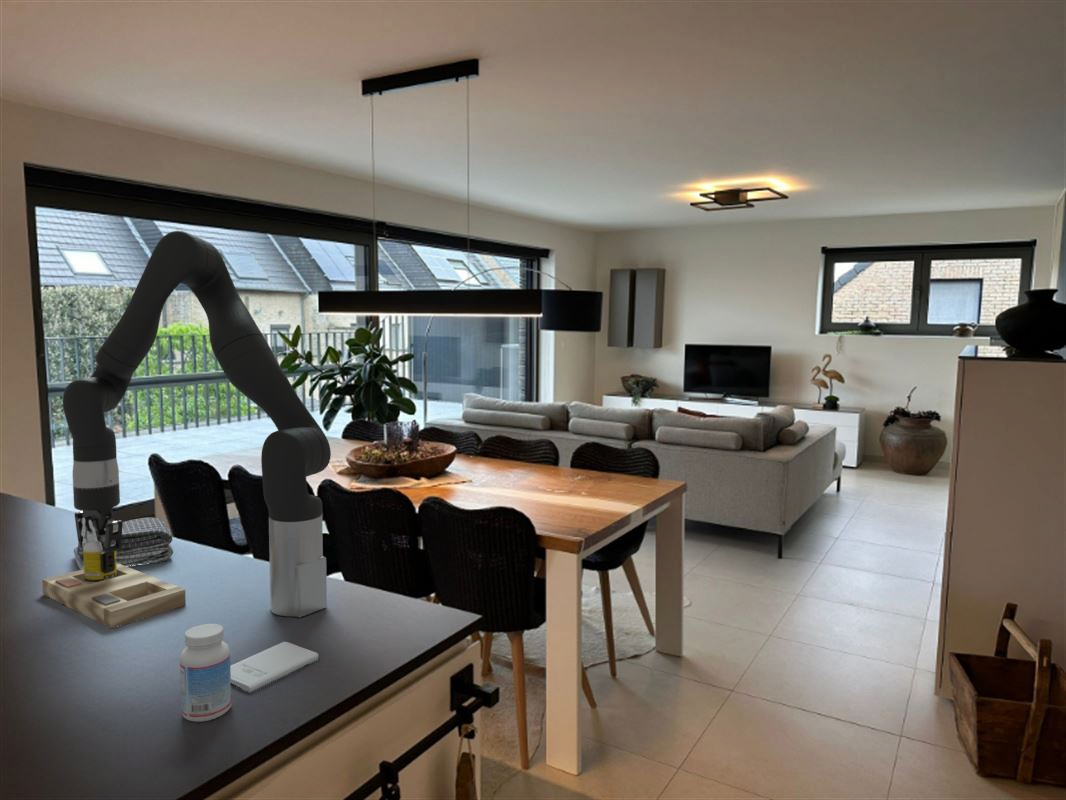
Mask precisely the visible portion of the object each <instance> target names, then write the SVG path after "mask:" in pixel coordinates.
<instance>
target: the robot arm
mask: <svg viewBox="0 0 1066 800" xmlns="http://www.w3.org/2000/svg"><path fill="white" fill-rule="evenodd" d="M141 274H142V275H141V277H140V278H139V281H138V283H137V285H136V288H135V290H134V292H133V294H132V297H131V298H130V300H129V303H128V305H127V307H126V308H125V310H124V312H123V314H122V315H121V317H120V319H119V320H118V321H117V323H116V325H115V326H114V328H113V329H112V330H111V332H110V333H109V335H108V336H107V338H106V339H105V340H104V342H103V344H102V345H101V346H100V348H99V350H98V351H97V353H96V355H95V361H96V364H97V366H96V368H95V370H94V372H93V373H92V375H90V376H89V377H83V378H78V379H75V380H73V381H71V382H70V383H68V384H67V386H66V388H65V389H64V392H63V397H62V408H63V413H64V416H65V420H66V423H67V426H68V429H69V432H70V434H71V437H72V458H73V462H72V464H73V465H72V466H73V467H72V490H73V493H72V494H73V507H74V509H76V510H78V512H74V521H75V528H76V536H77V542H79V543H82V545H83V547H84V545H85V544H86V543H88V542H89V541H88V540H87V533H88V532H92V533H93V536H94V541H95V542H96V543H98V545H99V549H100V553H101V554H100V560H101V572H103V573H108V572H112V571H114V570H115V559H114V552H115V551H117V550H120V549H121V541H122V525H123V523H122V522H123V521H122V520H121V519H119V520H118V519H117V520H115V518H114V513H113V508H115V507H117V506H119V504H120V503H121V495H120V494H121V493H120V475H119V474H120V470H119V463H118V459H117V440H116V439H117V438H116V437H117V436H116V433H115V431H114V430H113V429H112V428H110V427H107V424H106V419H105V413H108V412H110V411H112V410H113V409H114V408H115V407H117V406H118V404H119V403H120V402H121V401H122V399H124V396H125V394H126V392H127V390H128V387H129V385H130V383H131V381H132V377H133V375H134V373H135V372H136V370H137V369H138V367H139V366H141V363H142V362H143V361H144V359H145V358H146V356H147V355H148V354H149V352H150V351H151V348H152V347H153V345H154V343H155V341H156V339H157V335H158V331H159V327H160V321H161V315H162V312H163V309H164V306H165V305H166V302H167V300H168V298H170V296H171V294H172V293H173V292H174V290H175V289H177V287H178V286H179V285H180V284H181V285H182V284H183V285H185V286H186V287H188V288H189V289H190V290H191V291H192V293H193V294H194V296H195V297H196V299H197V300H198V302H199V304H200V305H201V307H202V309H203V310H204V313H205V315H206V317H207V318H206V319H207V321H208V332H209V334H208V335H209V340H210V341H209V343H210V346H211V350H212V352H213V354H214V357H215V359H216V361H217V362H218V364H219V365H220V367H221V370H222V372H223V373H224V375H225V376H226V378H227V379H228V381H229V382H230V383H231V384H232V386H234V388H236V389H237V390H238V391H239V392H240V393H242V394H243V395H244V396H245V397H246V398H247V399H249V400H250V401H251V402H253V404H255V405H256V406H258V407H259V409H261V410H262V411H263V412H264V413H265V414H266V415H267V417H269V419H271V421H272V423H273V425H275V427H276V429H277V430H276V431H274V432H272V433H270V434H269V435H268V436H267V437H266V438H265V439H264V442H263V445H262V449H261V455H260V456H261V460H260V462H261V476H262V489H263V491H262V492H263V498H264V502H265V504H266V506H267V509H268V536H269V537H268V539H269V541H268V543H269V547H268V548H269V549H268V550H269V589H270V590H269V592H270V611H271V613H272V614H275V615H277V616H281V617H282V616H283V617H296V618H302V616H303V617H305V616H307V615H310V614H312V613H316V612H318V611H321V610H324V609H325V608H327V606H328V605H327V604H328V603H327V602H328V601H327V600H328V599H327V591H328V590H327V557H326V556H324V555H323V554H324V553H323V552H324V551H323V549H324V548H323V547H324V546H323V537H324V536H323V501H322V499H321V498H320V497H318V496H316V495H313V494H310V493H309V491H308V483H307V482H308V481H307V477H310V476H313V475H316V474H319V473H321V472H323V471H325V470H326V468H327V467H328V466H329V464H330V461H331V455H332V453H331V452H332V450H331V446H330V443H329V440H328V438H327V436H326V434H325V432H324V431H323V429H322V428H321V427H320V425H319V424H318V422H317V421H316V420H315V418H314V417H313V416H312V414H311V413H310V411H309V410H308V409H307V407H306V406H305V404H304V403H303V401H302V400H301V398H300V397H299V396H298V394H297V392H296V390H295V389H294V387H293V385H292V384H291V382H290V380H289V378H288V377H287V375H286V374H285V372H284V370H283V369H282V367H281V366H280V363H279V361H278V360H277V358H276V356H275V354H274V352H273V350H272V349H271V346H270V345H269V343H268V342H267V340H266V338H265V336H264V335H263V333H262V331H261V330H260V327H258V325H257V323H256V321H255V320H254V317H253V316H252V314H251V313H250V311H249V309H248V308H247V306H246V305H245V303H244V302H243V299H242V298H241V296H240V295H239V292H238V290H237V287H236V286H235V284H234V281H233V279H232V277H231V275H230V272H229V270H228V267H227V265H226V262H225V259H223V256H222V254H221V253H220V251H219V250H218V248H216V247H215V245H213V244H212V243H210V242H209V241H207V240H205V239H203V238H202V237H199V236H196V235H194V234H192V233H191V232H187V231H185V230H173V231H170V232H168V233H166V234H165V235H163V236H162V237H161V238H160V240H159V241H158V242H157V244H156V245H155V247H154V249H153V251H152V253H151V254H150V257H149V258H148V261H147V263H146V266H145V269H144V270H143V272H142V273H141ZM101 535H105V537H100V536H101ZM115 540H116V544H115ZM104 541H105V546H104Z"/></svg>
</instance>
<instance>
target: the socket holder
mask: <svg viewBox="0 0 1066 800" xmlns="http://www.w3.org/2000/svg"><path fill="white" fill-rule="evenodd" d="M116 564H117V577H115V578H111V579H107V580H103V581H99V582H96V583H92V584H88V583H86V582H85V581H84V569H83V570H80V569H78V570H74V571H71V572H67V573H63V574H58V575H54V576H49V577H46V578H43V579H42V580H41V581H42V595H43V594H44V595H46V596H48V597H50V598H49V599H51V598H52V599H51V600H53V599H54V600H53V601H55V600H56V601H55V602H57V601H58V602H57V603H59V602H60V603H59V604H61V603H62V604H61V605H63V604H64V605H63V606H65V605H66V606H65V607H67V606H68V607H67V608H69V609H71V610H72V611H75V612H76V613H79V614H81V615H83V616H85V617H87V618H89V619H91V618H92V619H91V620H93V621H96V622H97V623H99V624H101V625H103V626H105V625H106V626H105V627H107V626H108V627H107V628H109V627H110V628H109V629H111V628H113V629H115V628H114V627H116V628H118V627H117V626H119V627H121V626H120V625H122V626H125V625H124V624H126V625H128V624H127V623H129V624H131V622H132V623H134V622H133V621H135V622H137V621H136V620H138V621H141V620H144V619H147V618H149V617H150V616H151V617H154V616H156V614H157V615H160V614H163V613H166V612H169V611H172V609H173V610H175V608H176V609H178V607H179V608H181V607H185V606H186V604H187V603H186V588H182V587H180V586H178V585H176V584H172V583H169V582H167V581H165V580H162V579H159V578H156V577H154V576H152V575H149V574H147V573H144V572H141V571H139V570H136V569H134V568H132V567H126V566H124V565H121V564H119V563H116ZM44 595H43V596H44ZM46 596H45V597H46ZM48 597H47V598H48ZM159 613H160V614H159ZM153 615H154V616H153ZM146 617H147V618H146ZM143 618H144V619H143ZM140 619H141V620H140Z"/></svg>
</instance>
